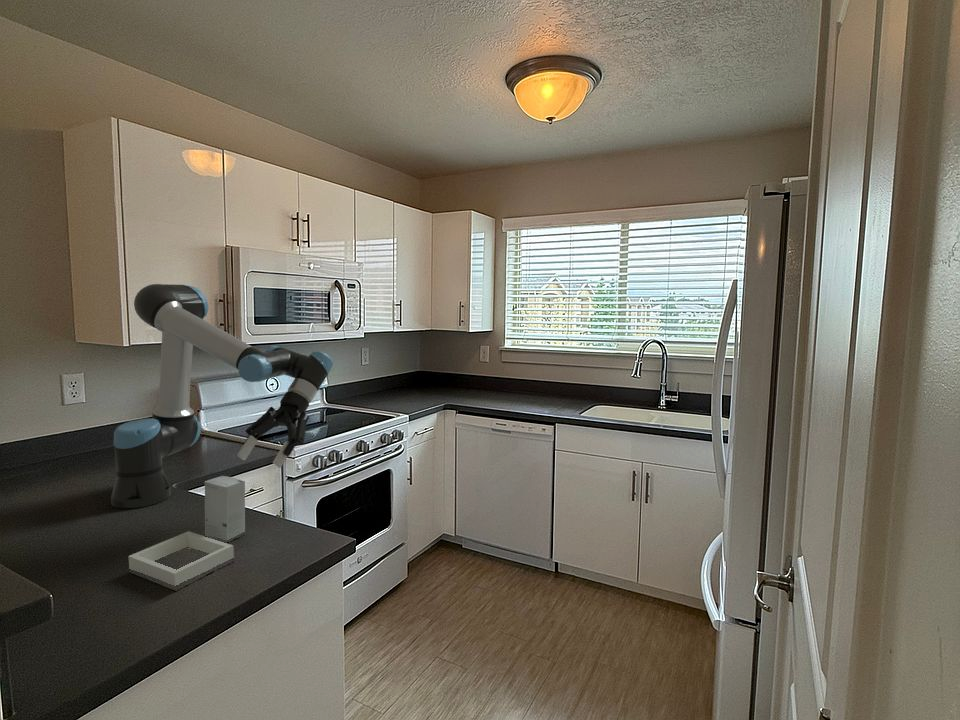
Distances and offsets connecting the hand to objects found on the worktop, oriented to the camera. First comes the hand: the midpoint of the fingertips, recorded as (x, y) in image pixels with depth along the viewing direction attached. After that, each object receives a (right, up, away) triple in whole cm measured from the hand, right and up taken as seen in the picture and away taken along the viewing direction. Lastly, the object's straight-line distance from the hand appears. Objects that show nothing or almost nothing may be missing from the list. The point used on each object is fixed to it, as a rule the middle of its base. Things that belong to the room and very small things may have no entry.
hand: (258, 461), depth 141 cm
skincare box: (-5, -18, -7) cm, 20 cm away
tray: (-7, -19, -23) cm, 31 cm away
